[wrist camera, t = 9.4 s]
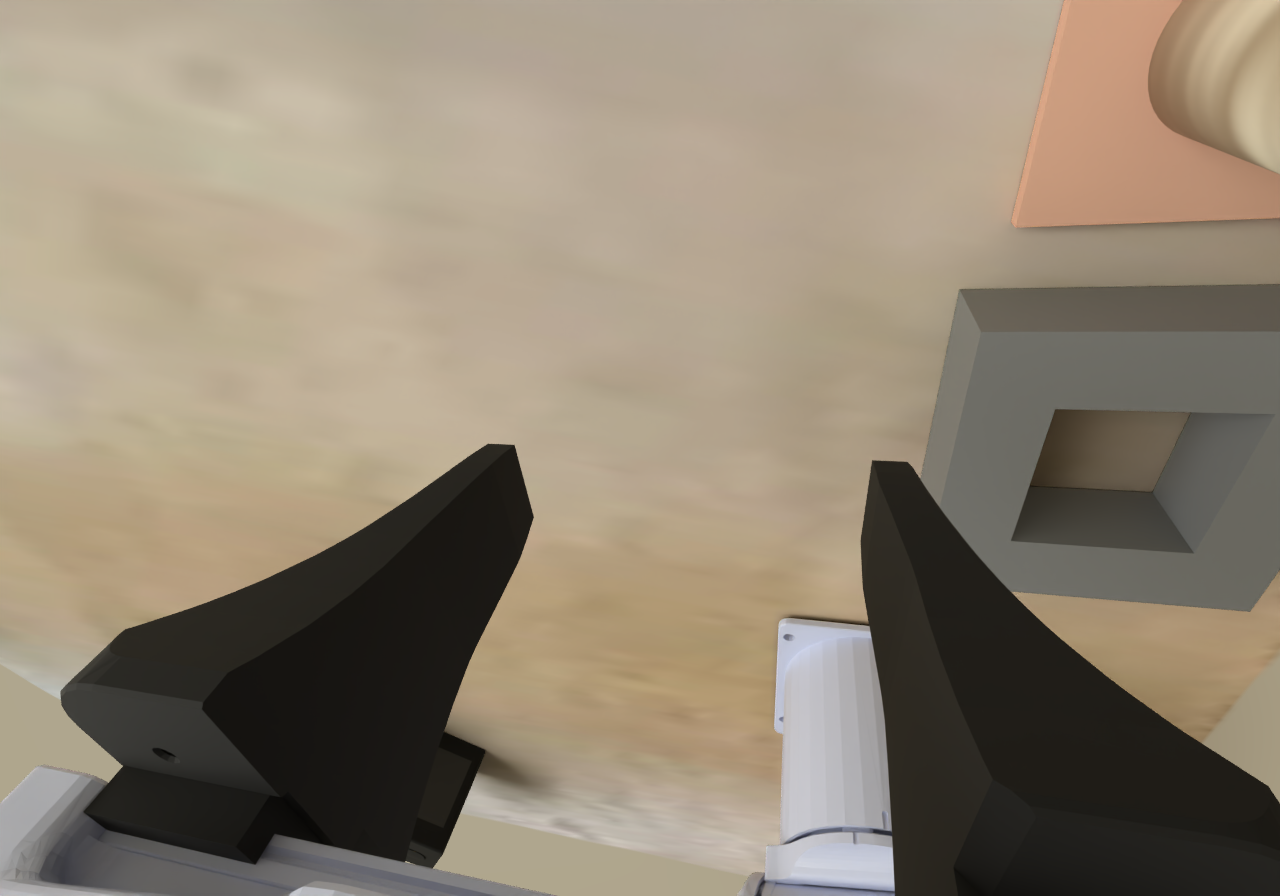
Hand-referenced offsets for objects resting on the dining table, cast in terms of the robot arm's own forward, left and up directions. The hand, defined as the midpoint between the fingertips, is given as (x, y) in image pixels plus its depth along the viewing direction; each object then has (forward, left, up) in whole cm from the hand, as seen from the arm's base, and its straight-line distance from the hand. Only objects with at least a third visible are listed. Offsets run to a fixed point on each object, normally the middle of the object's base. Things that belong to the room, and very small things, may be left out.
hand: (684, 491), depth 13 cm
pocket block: (-5, -12, -10) cm, 17 cm away
